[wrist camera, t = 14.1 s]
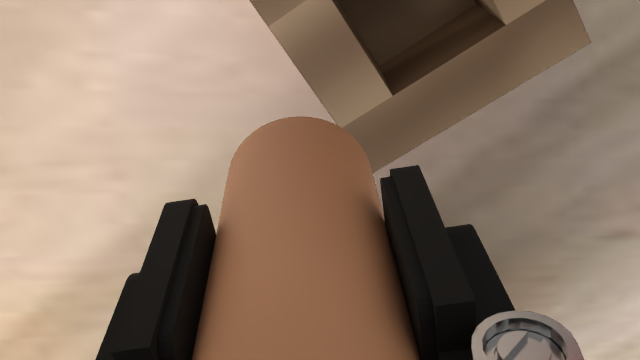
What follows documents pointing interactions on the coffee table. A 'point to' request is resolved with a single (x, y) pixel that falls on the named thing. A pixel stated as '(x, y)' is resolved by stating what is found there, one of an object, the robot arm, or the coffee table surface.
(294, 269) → the dowel
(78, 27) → the coffee table surface
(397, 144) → the wooden frame
